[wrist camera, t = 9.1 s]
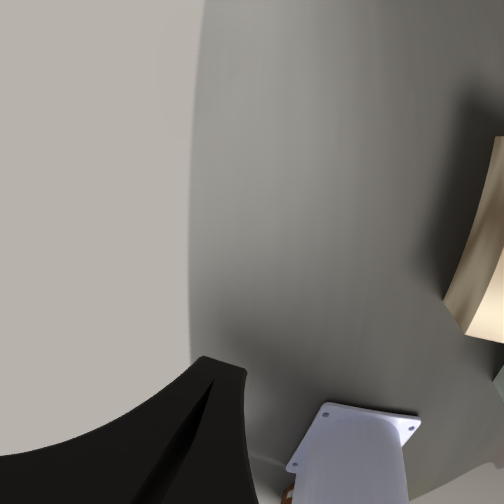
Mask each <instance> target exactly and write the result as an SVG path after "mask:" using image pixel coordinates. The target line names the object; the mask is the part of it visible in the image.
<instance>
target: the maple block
mask: <svg viewBox="0 0 504 504" xmlns="http://www.w3.org/2000/svg"><path fill="white" fill-rule="evenodd" d="M443 302H444V304H445V305H446V307H447V308H448V310H449V311H450V313H451V314H452V316H453V317H454V319H455V320H456V322H457V323H458V325H459V326H460V328H461V329H462V331H463V332H464V334H465V335H469V336H473V337H478V338H482V339H487V340H491V341H496V342H500V343H504V136H495V141H494V146H493V151H492V156H491V160H490V165H489V169H488V173H487V177H486V181H485V185H484V189H483V192H482V196H481V200H480V203H479V206H478V210H477V213H476V216H475V219H474V223H473V226H472V229H471V232H470V235H469V237H468V240H467V243H466V246H465V249H464V251H463V254H462V257H461V259H460V262H459V265H458V267H457V270H456V272H455V275H454V277H453V279H452V282H451V284H450V287H449V289H448V291H447V293H446V296H445V298H444V300H443Z"/></svg>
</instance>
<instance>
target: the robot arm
mask: <svg viewBox="0 0 504 504" xmlns="http://www.w3.org/2000/svg"><path fill="white" fill-rule="evenodd" d="M246 376H247V371H246V370H245V369H244V368H241V367H238V366H234V365H231V364H228V363H225V362H222V361H218V360H215V359H212V358H209V357H206V356H202V357H199V358H198V359H197V360H196V361H195V362H194V363H193V364H192V365H191V366H190V367H189V368H188V369H187V370H186V371H185V372H184V373H182V374H181V375H180V376H179V377H177V378H176V379H175V380H174V381H173V382H171V383H170V384H169V385H167V386H166V387H165V388H163V389H162V390H161V391H159V392H158V393H157V394H155V395H154V396H153V397H151V398H150V399H148V400H147V401H145V402H143V403H142V404H140V405H139V406H137V407H136V408H134V409H133V410H131V411H130V412H128V413H126V414H125V415H122V416H121V417H119V418H117V419H115V420H113V421H112V422H109V423H108V424H106V425H103V426H101V427H99V428H97V429H95V430H93V431H90V432H88V433H85V434H83V435H81V436H78V437H76V438H73V439H70V440H67V441H65V442H62V443H58V444H55V445H51V446H48V447H44V448H41V449H36V450H32V451H29V452H24V453H18V454H11V455H4V456H0V504H259V503H258V499H257V496H256V492H255V488H254V484H253V479H252V475H251V470H250V465H249V459H248V452H247V445H246V437H245V424H244V388H245V381H246ZM420 424H421V419H420V417H417V416H409V415H401V414H394V413H387V412H381V411H375V410H369V409H363V408H358V407H352V406H347V405H342V404H337V403H332V402H326V403H324V404H323V405H322V406H321V408H320V410H319V411H318V413H317V415H316V417H315V419H314V420H313V422H312V424H311V426H310V428H309V429H308V431H307V433H306V434H305V436H304V438H303V440H302V441H301V443H300V445H299V446H298V448H297V450H296V451H295V453H294V454H293V456H292V458H291V459H290V461H289V463H288V464H287V466H286V471H288V472H291V473H296V479H295V486H294V492H293V498H292V504H409V500H408V491H407V483H406V475H405V467H404V460H403V454H402V446H403V445H404V444H405V442H406V441H407V440H408V439H409V438H410V436H411V435H412V434H413V433H414V431H415V430H416V429H417V428H418V426H419V425H420ZM411 426H412V427H411Z"/></svg>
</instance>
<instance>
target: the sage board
mask: <svg viewBox="0 0 504 504" xmlns="http://www.w3.org/2000/svg"><path fill="white" fill-rule="evenodd" d="M493 384H494V386H495V387H496V389H497V391H498V393H499V395H500V397H501V399H502V401H503V403H504V365H503V366H502V368H501V370H500V371H499V373H498V374H497V376H496V377H495V379H494V380H493Z"/></svg>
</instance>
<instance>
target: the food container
mask: <svg viewBox="0 0 504 504" xmlns="http://www.w3.org/2000/svg"><path fill="white" fill-rule="evenodd" d="M294 486H295V484H293V485H291V486H290V487H288V488H287V489H286V490H285V491H284V494H283V498H282V501H281V504H292V498H293V492H294Z"/></svg>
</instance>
